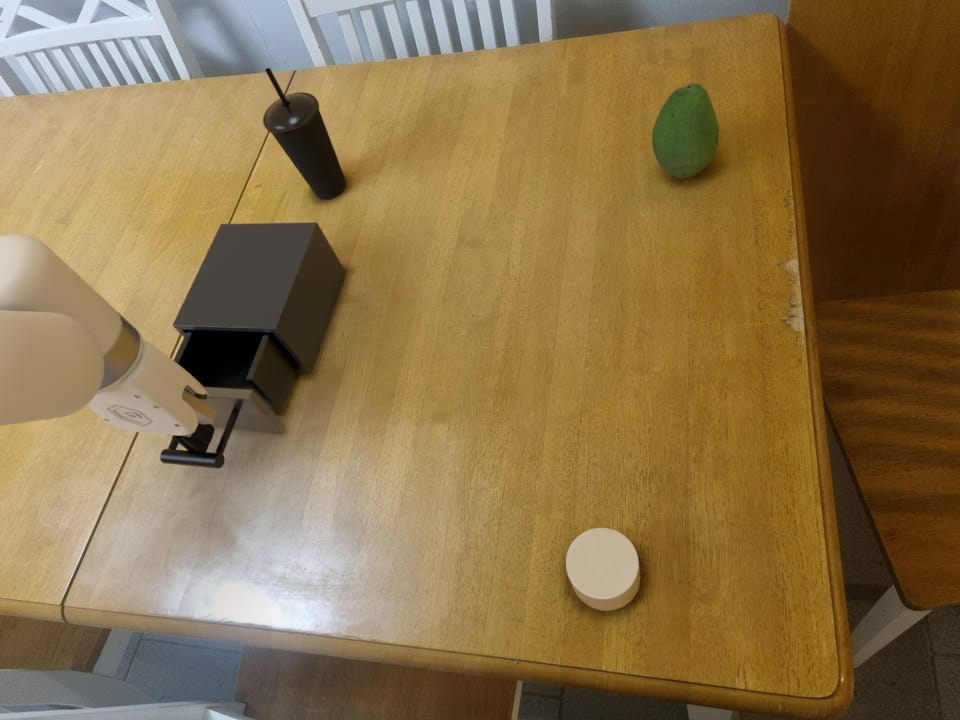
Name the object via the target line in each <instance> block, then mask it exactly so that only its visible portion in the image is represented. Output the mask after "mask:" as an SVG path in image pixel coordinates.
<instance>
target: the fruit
mask: <svg viewBox="0 0 960 720" xmlns="http://www.w3.org/2000/svg"><path fill="white" fill-rule="evenodd" d="M651 133H652V136H651V137H652V138H651V139H652V142H651V143H652V150H653V153H654V156H655V158H656V161H657V162H658V164H659V165H660V167H661V168H662V169H663V170H664V171H665V172H666V173H667V174H669V175H670V176H673V177H675V178H678V179H688V178H692V177H693V178H694V177H695V176H696V175H699V174H700V173H701V172H702V171H703V170H705V168H706V167H708V166H709V164H711V162H712V161H713V160H714V157H715V155H716V152H717V150H718V146H719V144H720V143H719V142H720V125H719V121H718V118H717V114H716V112H715V108H714V106H713V104H712V100H711V97H710V95H709V93H708V91H707V90H706V89H705V88H704V86H702V85H701V84H700V83H693V82H690V83H689V84H686V85H683V86H681V87H679V88H677V89H675V90H673V92H672V93H671V94H669V96H668V98H667V99H666V100H665V102H664V103H663V105H662V107H661V108H660V111H659V113H658V115H657V117H656V120H655V122H654V124H653V127H652V131H651Z"/></svg>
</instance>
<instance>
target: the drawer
mask: <svg viewBox="0 0 960 720" xmlns="http://www.w3.org/2000/svg"><path fill="white" fill-rule="evenodd" d="M172 360H173V361H175V362H176V363H177V364H179V365H180V366H181V367H182V368H183V369H185V370H186V371H187V372H188V373H190V374H191V375H192V376H193V377H194V378H195V379H196V380H197V381H198V382H199V383H200V384H201V385H202V386H203V387H204V388H205V389H206V391H207V392H208V394H209V398H208V399H205V400H201V401H203V402H204V403H206V404H207V405H209V406H210V407H212V408H213V409H215V410H216V411H217V412H218V414H217V416H216V419H215V421H214V423H213V424H211V425H212V426H213V427H214V428H218V429H224V430H223V432H222V435H221V437H220V439H219V442H218V445H217V447H216V449H215V452H211V451H206V452H199V451H188V450H187V449H177V448H178V446H179V445H180V444H179V443H178V442H177V441H175V440H174V439H173V438H172V437H171V440H170V443H169V445H168V447H167V448H164V449H162V450H161V452H160V454H159V460H160V462H161V463H162V464H164V465H166V464H167V465H177V466H186V467H198V468H207V469H222V468H223V467H224V464H225V462H226V461H225V455H224V453H225V451H226V448H227V445H228V443H229V440H230V437H231V435H232V433H233V430H244V431H257V432H268V433H269V432H270V433H282V431H283V429H284V425H285V422H284V421H283V420H282V419H281V418H280V417H279V416H278V415H277V414H276V413H275V412H282V411H283V408H284V405H285V403H286V400H287V397H288V395H289V392H290V389H291V386H292V383H293V381H294V378H295V375H296V373H295V372H296V370H297V367H298V363H297V362H296V361H295V360H294V358H293V357H292V356H291V355H290V353H289V352H288V351H287V350H286V348H285V347H284V346H283V345H282V343H281V342H280V341H279V340H278V338H277V337H276V336H275V335H274V333H273V332H247V331H217V330H187V332H186V334H185V337H183V339H182V340H181V342H180V345H179V348H178V350H177V352H176V354H175V356H174V358H173V359H172Z"/></svg>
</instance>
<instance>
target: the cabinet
mask: <svg viewBox="0 0 960 720" xmlns="http://www.w3.org/2000/svg"><path fill="white" fill-rule="evenodd" d="M346 274H347V271H346V269H345V268H344V266H343V265H342V262H341V260H340V259H339V257H338V255H336V252H335V251H334V249H333V248H332V246H331V244H330V243H329V241H328V238H327V237H326V235H325V233H324V232H323V231H322V229H321V227H320V225H319V223H318V222H266V223H265V222H263V223H261V222H260V223H220V225H219V227H218V229H217V230H216V233H215V235H214V238H213V240H212V241H211V244H210V245H209V248H208V250H207V252H206V254H205V256H204V258H203V260H202V262H201V265H200V267H199V269H198V271H197V273H196V275H195V277H194V279H193V281H192V283H191V285H190V288H189V290H188V292H187V294H186V296H185V298H184V300H183V302H182V304H181V306H180V309H179V311H178V313H177V315H176V317H175V319H174V321H173V323H172V327H173V328H174V329H175V330H176V331H177V332H178V333H179V334H180V335H181V336H182V337H183V338H184V337H185V334H186V332H187V330H217V331H247V332H273V333H274V335H275V336H276V337H277V338H278V340H279V341H280V342H281V343H282V345H283V346H284V347H285V348H286V350H287V351H288V352H289V353H290V355H291V356H292V357H293V358H294V360H295V361H296V362H297V363H298V367H297V370H296V372H295V374H309V375H311V374H312V372H313V369H314V366H315V363H316V362H317V358H318V354H319V352H320V350H321V346H322V343H323V341H324V338H325V335H326V331H327V329H328V326H329V323H330V320H331V318H332V315H333V312H334V309H335V306H336V303H337V300H338V298H339V295H340V292H341V288H342V286H343V283H344V280H345V277H346Z"/></svg>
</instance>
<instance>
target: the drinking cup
mask: <svg viewBox="0 0 960 720" xmlns="http://www.w3.org/2000/svg"><path fill="white" fill-rule="evenodd" d="M264 71H265V73H266V75H267V77H268V79H269V81H270V82H271V84H272V86H273V88H274V90H275V92H276V94H277V95H278V97H279V98H278V99H276V100H275V101H274V102H273V103H271V104H270V105H269V107H268V108H267V109H266V111H265V112H264V114H263V117H262V124H263V126H264V128H265V130H267V132H269V133H271V135H272V137H274V139H275V141H276V142H277V143H278V145H279V146H280V148H281V149H282V151H284V153H285V154H286V155H287V157H288V159H289V160H290V161H291V163H292V164H293V166H294V167H295V168H296V170H297V171H298V173H299V174H300V175H301V176H302V178H303V179H304V181H305V183H306V184H307V185H308V186H309V187H310V188H309V189H311V191H312V192H313V193H314V196H316V197H317V198H318V199H320V200H324V201H326V200H333V199H334V198H337V197H339V196H340V195H342V193H343V192H344V191H345V189H346V187H347V180H346V178H345V174H344V172H343V169H342V166H341V165H340V161H339V159H338V156H337V153H336V151H335V148H334V146H333V145H334V144H333V143H332V139H331V137H330V135H329V132H328V129H327V127H326V125H325V122H324V119H323V117H322V113H321V111H320V103H319V100H318V98H317V97H316V96H315V95H313V94H312V93H310V92H302V91H301V92H299V91H298V92H293V93H289V94H286V95H285V93H284V92H283V90H282V88H281V86H280V84H279V82H278V80H277V78H276V77H275V75H274V73H273V71H272V69H271V67H266V69H264Z"/></svg>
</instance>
